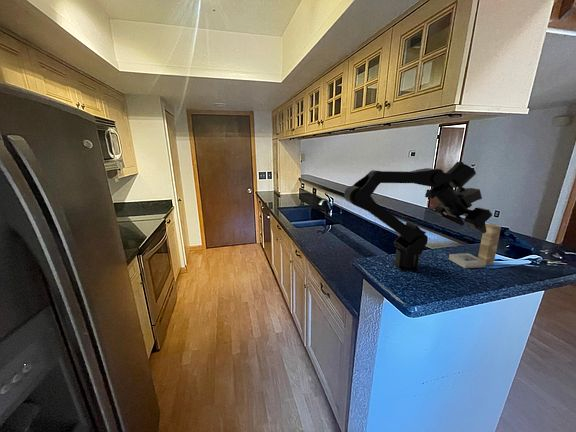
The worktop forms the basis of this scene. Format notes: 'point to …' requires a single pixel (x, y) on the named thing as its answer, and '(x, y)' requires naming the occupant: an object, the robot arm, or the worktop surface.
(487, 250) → the pin
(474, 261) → the socket plate
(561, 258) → the worktop surface
